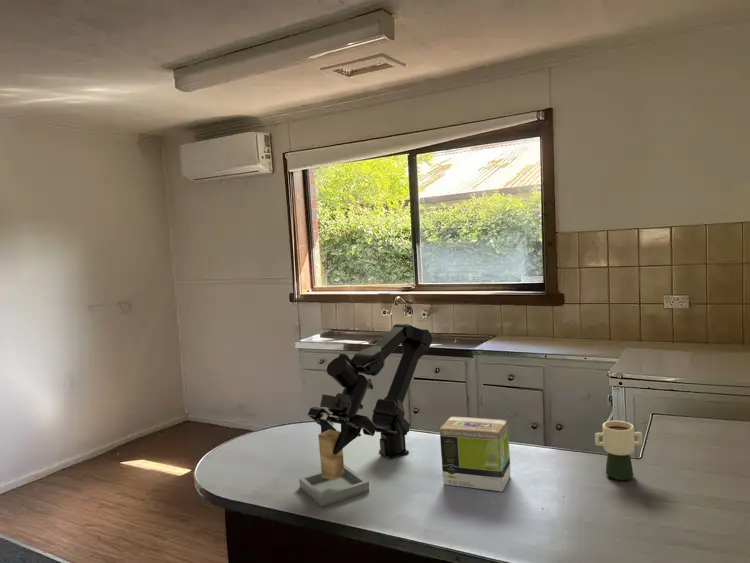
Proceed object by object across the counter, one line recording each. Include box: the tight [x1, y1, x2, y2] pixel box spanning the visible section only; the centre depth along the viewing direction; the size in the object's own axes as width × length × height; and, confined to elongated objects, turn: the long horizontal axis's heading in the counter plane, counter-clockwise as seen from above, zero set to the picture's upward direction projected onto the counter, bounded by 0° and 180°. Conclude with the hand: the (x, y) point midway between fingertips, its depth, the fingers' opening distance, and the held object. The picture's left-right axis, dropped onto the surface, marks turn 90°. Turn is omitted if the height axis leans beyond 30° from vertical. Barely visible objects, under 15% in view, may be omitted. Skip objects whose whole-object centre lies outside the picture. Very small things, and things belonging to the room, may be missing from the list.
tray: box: [299, 464, 370, 508], centre depth 145 cm, size 13×13×2 cm
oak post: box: [317, 429, 345, 480], centre depth 144 cm, size 4×4×11 cm
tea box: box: [439, 415, 511, 492], centre depth 144 cm, size 15×10×15 cm, turn 65°
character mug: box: [594, 420, 643, 481], centre depth 141 cm, size 11×7×13 cm, turn 82°
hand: (327, 452), depth 143 cm, fingers closed on oak post, 4 cm apart
